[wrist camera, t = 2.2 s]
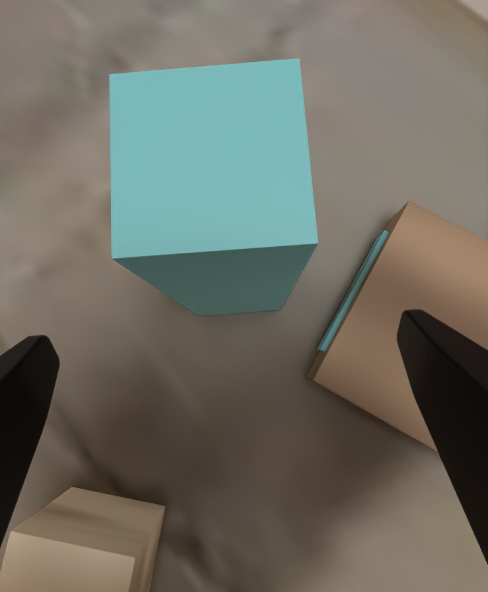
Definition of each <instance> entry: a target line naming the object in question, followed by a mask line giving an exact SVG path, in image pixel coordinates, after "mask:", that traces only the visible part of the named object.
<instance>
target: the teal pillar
mask: <svg viewBox="0 0 488 592" xmlns="http://www.w3.org/2000/svg"><path fill="white" fill-rule="evenodd" d="M110 154H111V234H112V259H113V260H115V261H116V262H118V263H119V264H121V265H122V266H124V267H125V268H127V269H128V270H130V271H131V272H133V273H134V274H136V275H137V276H139V277H140V278H142V279H143V280H145V281H147V282H148V283H150V284H151V285H153V286H154V287H156V288H157V289H159V290H160V291H162V292H163V293H165V294H166V295H168V296H169V297H171V298H172V299H174V300H175V301H177V302H178V303H180V304H181V305H183V306H184V307H186V308H187V309H189V310H190V311H192V312H193V313H195V314H196V315H198V316H206V315H220V314H234V313H248V312H263V311H277V310H281V309H282V307H283V305H284V303H285V301H286V300H287V298H288V296H289V294H290V292H291V291H292V289H293V287H294V285H295V284H296V282H297V280H298V278H299V276H300V275H301V273H302V271H303V269H304V267H305V266H306V264H307V262H308V260H309V259H310V257H311V255H312V253H313V251H314V250H315V248H316V246H317V244H318V238H317V228H316V218H315V208H314V198H313V188H312V178H311V168H310V159H309V149H308V139H307V129H306V119H305V109H304V99H303V89H302V80H301V70H300V60H299V58H298V59H286V60H274V61H263V62H251V63H239V64H227V65H215V66H203V67H191V68H180V69H168V70H156V71H144V72H132V73H120V74H110Z"/></svg>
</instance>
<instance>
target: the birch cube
mask: <svg viewBox="0 0 488 592" xmlns="http://www.w3.org/2000/svg"><path fill="white" fill-rule="evenodd" d="M165 508H166V506H163V505H158V504H153V503H148V502H143V501H138V500H134V499H129V498H124V497H119V496H114V495H109V494H104V493H100V492H95V491H90V490H85V489H80V488H75V487H71V488H70V489H68V490H67V491H66V492H64V493H63V494H61V495H60V496H59V497H57V498H56V499H54V500H53V501H52V502H50V503H49V504H48V505H46V506H45V507H43V508H42V509H41V510H39V511H38V512H36V513H35V514H34V515H32V516H31V517H29V518H28V519H27V520H25V521H24V522H23V523H21V524H20V525H18V526H17V527H16V528H14V529H13V530H11V532H10V536H9V540H8V544H7V548H6V552H5V556H4V560H3V564H2V568H1V572H0V592H149V590H150V585H151V580H152V575H153V570H154V565H155V559H156V554H157V549H158V544H159V539H160V534H161V529H162V523H163V518H164V513H165Z"/></svg>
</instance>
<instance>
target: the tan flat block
mask: <svg viewBox="0 0 488 592" xmlns="http://www.w3.org/2000/svg"><path fill="white" fill-rule="evenodd" d="M409 309H422V310H424V311H425V312H427V313H429V314H430V315H432V316H433V317H435V318H437V319H438V320H440V321H442V322H443V323H445V324H446V325H448V326H450V327H451V328H453V329H455V330H456V331H458V332H459V333H461V334H463V335H464V336H466V337H468V338H469V339H471V340H472V341H474V342H476V343H477V344H479V345H481V346H482V347H484V348H485V349H487V350H488V240H486V239H484V238H482V237H480V236H478V235H476V234H474V233H472V232H470V231H468V230H466V229H464V228H462V227H460V226H458V225H456V224H454V223H452V222H450V221H448V220H446V219H444V218H442V217H440V216H438V215H436V214H434V213H432V212H430V211H428V210H426V209H424V208H422V207H420V206H418V205H416V204H414V203H412V202H410V201H409V202H408V203H407V204H406V205H405V206H404V207H403V208H402V209H401V210H400V211H399V212H398V213H397V214H396V215H395V216H394V217H393V218H392V219H391V220H390V222H389V224H388V226H387V227H386V229H385V230H384V231H383V232H382V233H381V234H380V235H379V236H378V237H377V239H376V241H375V242H374V244H373V246H372V248H371V250H370V252H369V253H368V255H367V257H366V259H365V261H364V263H363V265H362V266H361V268H360V270H359V272H358V274H357V276H356V278H355V279H354V281H353V283H352V285H351V287H350V289H349V291H348V292H347V294H346V296H345V298H344V300H343V302H342V303H341V305H340V307H339V309H338V311H337V313H336V315H335V316H334V318H333V320H332V322H331V324H330V326H329V328H328V329H327V331H326V333H325V335H324V337H323V339H322V340H321V342H320V344H319V346H318V348H317V350H318V351H320V352H319V354H318V356H317V357H316V359H315V361H314V363H313V365H312V367H311V369H310V370H309V372H308V374H307V376H306V377H307V378H309V379H311V380H312V381H314V382H316V383H318V384H319V385H321V386H323V387H325V388H326V389H328V390H330V391H332V392H333V393H335V394H337V395H339V396H340V397H342V398H344V399H345V400H347V401H349V402H351V403H352V404H354V405H356V406H358V407H359V408H361V409H363V410H365V411H366V412H368V413H370V414H372V415H373V416H375V417H377V418H379V419H380V420H382V421H384V422H385V423H387V424H389V425H391V426H392V427H394V428H396V429H398V430H399V431H401V432H403V433H405V434H406V435H408V436H410V437H412V438H413V439H415V440H417V441H418V442H420V443H422V444H424V445H425V446H427V447H429V448H431V449H432V450H434V451H436V452H438V451H437V448H436V446H435V444H434V442H433V439H432V437H431V435H430V433H429V430H428V428H427V426H426V423H425V421H424V419H423V417H422V414H421V412H420V410H419V408H418V405H417V403H416V400H415V398H414V395H413V392H412V389H411V386H410V383H409V380H408V376H407V373H406V370H405V367H404V363H403V360H402V357H401V353H400V350H399V347H398V343H397V331H398V327H399V323H400V319H401V315H402V312H403V311H404V310H409Z"/></svg>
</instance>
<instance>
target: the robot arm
mask: <svg viewBox="0 0 488 592" xmlns="http://www.w3.org/2000/svg"><path fill="white" fill-rule="evenodd" d="M397 343H398V347H399V350H400V353H401V357H402V360H403V363H404V367H405V370H406V373H407V376H408V380H409V383H410V386H411V389H412V392H413V395H414V398H415V400H416V403H417V405H418V408H419V410H420V412H421V414H422V417H423V419H424V421H425V423H426V426H427V428H428V430H429V433H430V435H431V437H432V439H433V442H434V444H435V446H436V448H437V451H438V453H439V455H440V458H441V460H442V462H443V464H444V467H445V469H446V471H447V473H448V476H449V478H450V480H451V483H452V485H453V487H454V489H455V492H456V494H457V496H458V498H459V501H460V503H461V505H462V507H463V510H464V512H465V514H466V517H467V519H468V521H469V523H470V526H471V528H472V530H473V532H474V535H475V537H476V539H477V542H478V544H479V546H480V548H481V551H482V553H483V555H484V557H485V560H486V562H487V564H488V350H487V349H485V348H484V347H482V346H481V345H479V344H477V343H476V342H474V341H472V340H471V339H469V338H468V337H466V336H464V335H463V334H461V333H459V332H458V331H456V330H455V329H453V328H451V327H450V326H448V325H446V324H445V323H443V322H442V321H440V320H438V319H437V318H435V317H433V316H432V315H430V314H429V313H427V312H425V311H424V310H422V309H409V310H404V311H403V312H402V315H401V319H400V323H399V327H398V331H397ZM59 365H60V361H59V357H58V355H57V353H56V351H55V349H54V347H53V345H52V343H51V341H50V339H49V338H48V337H47V336H45V335H35V336H29V337H27V338H25V339H24V340H22V341H21V342H19V343H18V344H17V345H15V346H14V347H12V348H11V349H9V350H8V351H7V352H5V353H4V354H2V355H1V356H0V547H1V544H2V541H3V539H4V536H5V533H6V530H7V528H8V525H9V522H10V519H11V517H12V514H13V511H14V508H15V506H16V503H17V500H18V497H19V495H20V492H21V489H22V486H23V483H24V481H25V478H26V475H27V472H28V470H29V467H30V464H31V461H32V459H33V456H34V453H35V450H36V448H37V445H38V442H39V439H40V437H41V434H42V431H43V428H44V425H45V422H46V419H47V415H48V412H49V408H50V404H51V399H52V395H53V391H54V387H55V383H56V379H57V374H58V370H59Z"/></svg>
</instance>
